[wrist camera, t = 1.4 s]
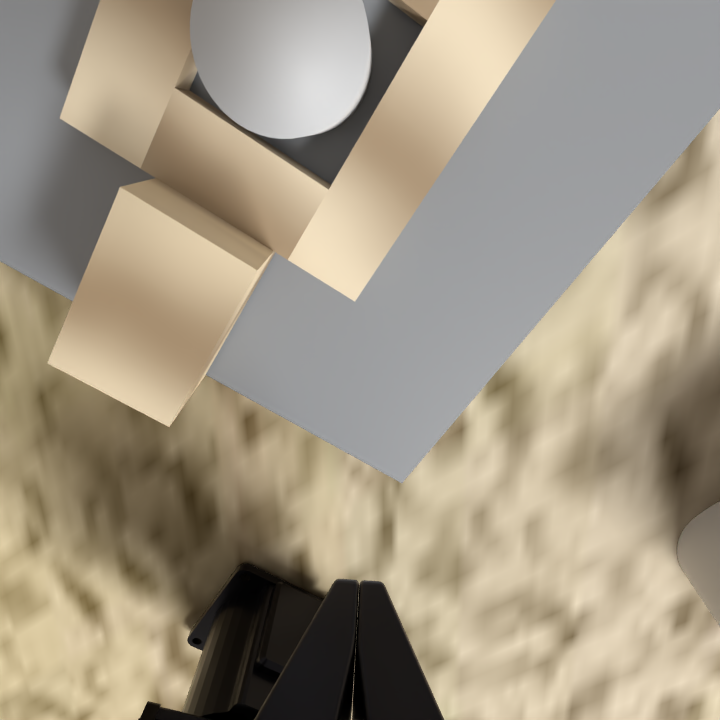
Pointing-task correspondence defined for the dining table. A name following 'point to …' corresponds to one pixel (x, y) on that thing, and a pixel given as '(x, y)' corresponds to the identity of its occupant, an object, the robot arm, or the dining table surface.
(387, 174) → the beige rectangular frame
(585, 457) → the dining table surface
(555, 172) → the board
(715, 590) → the lumpy-topped squat cylinder
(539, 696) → the dining table surface
